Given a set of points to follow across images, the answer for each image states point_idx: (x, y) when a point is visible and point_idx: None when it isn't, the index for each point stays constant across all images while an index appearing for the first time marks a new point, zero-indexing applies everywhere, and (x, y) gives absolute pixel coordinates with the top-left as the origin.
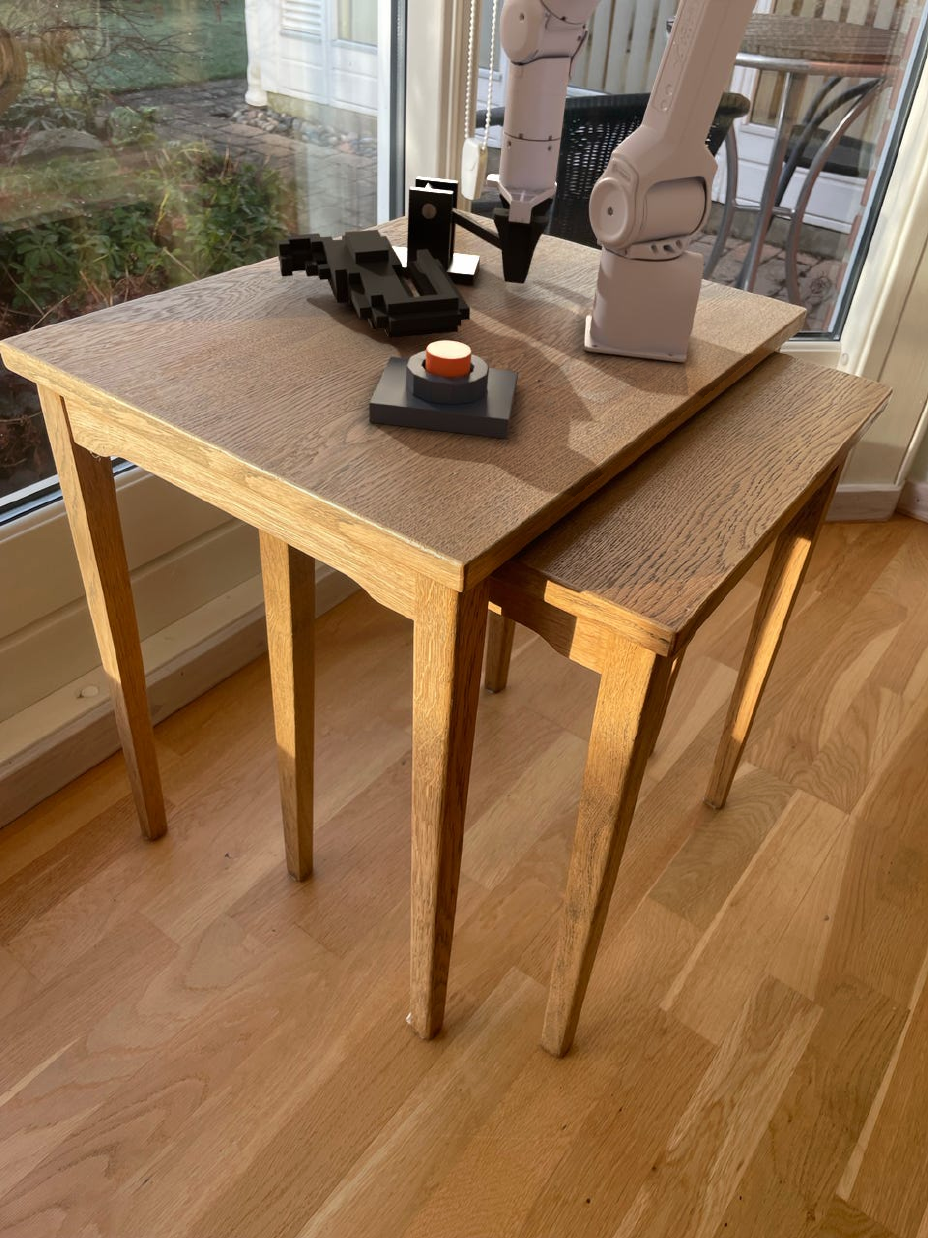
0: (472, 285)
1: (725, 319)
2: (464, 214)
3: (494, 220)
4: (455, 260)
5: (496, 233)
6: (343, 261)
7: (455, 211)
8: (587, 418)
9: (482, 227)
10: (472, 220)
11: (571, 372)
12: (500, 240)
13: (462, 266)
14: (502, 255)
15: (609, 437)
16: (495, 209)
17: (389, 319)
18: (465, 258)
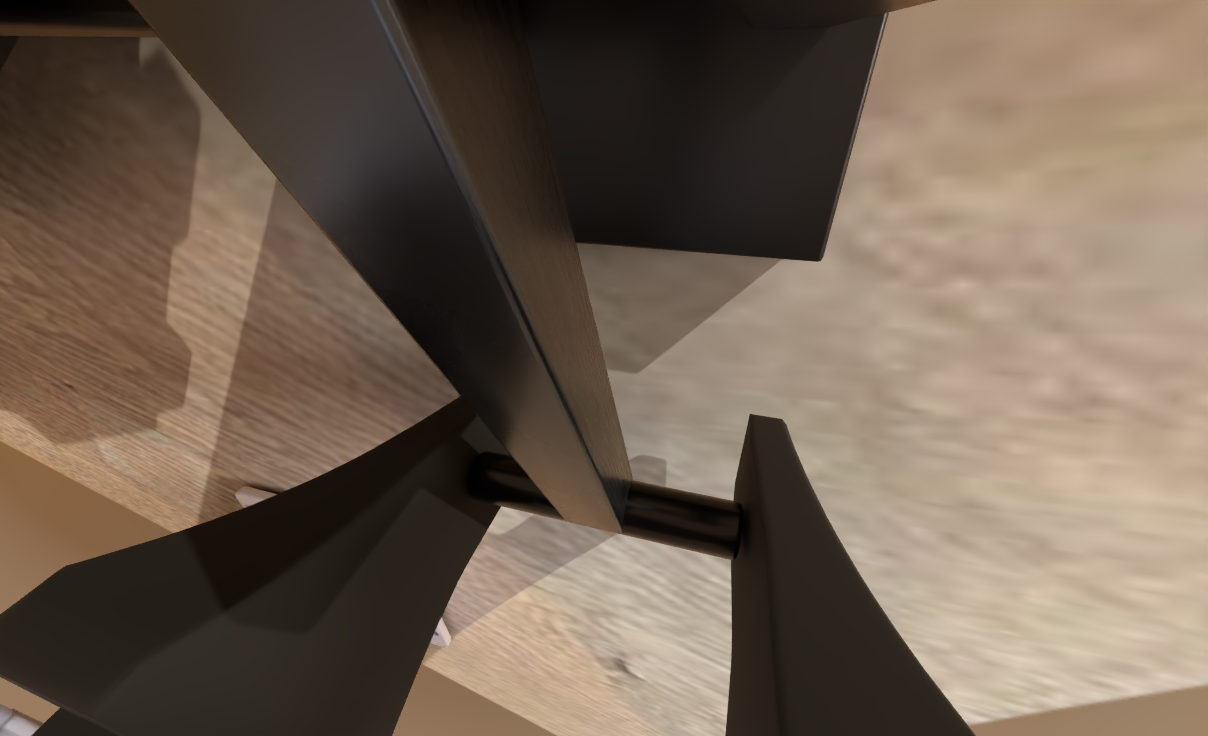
0: None
1: (553, 702)
2: (474, 261)
3: (38, 587)
4: (673, 70)
5: (582, 480)
6: None
7: (235, 69)
8: (50, 437)
9: (495, 417)
10: (478, 353)
11: (154, 444)
12: (285, 492)
13: (562, 149)
14: (392, 438)
15: (39, 452)
16: (44, 694)
17: None
18: (747, 153)
